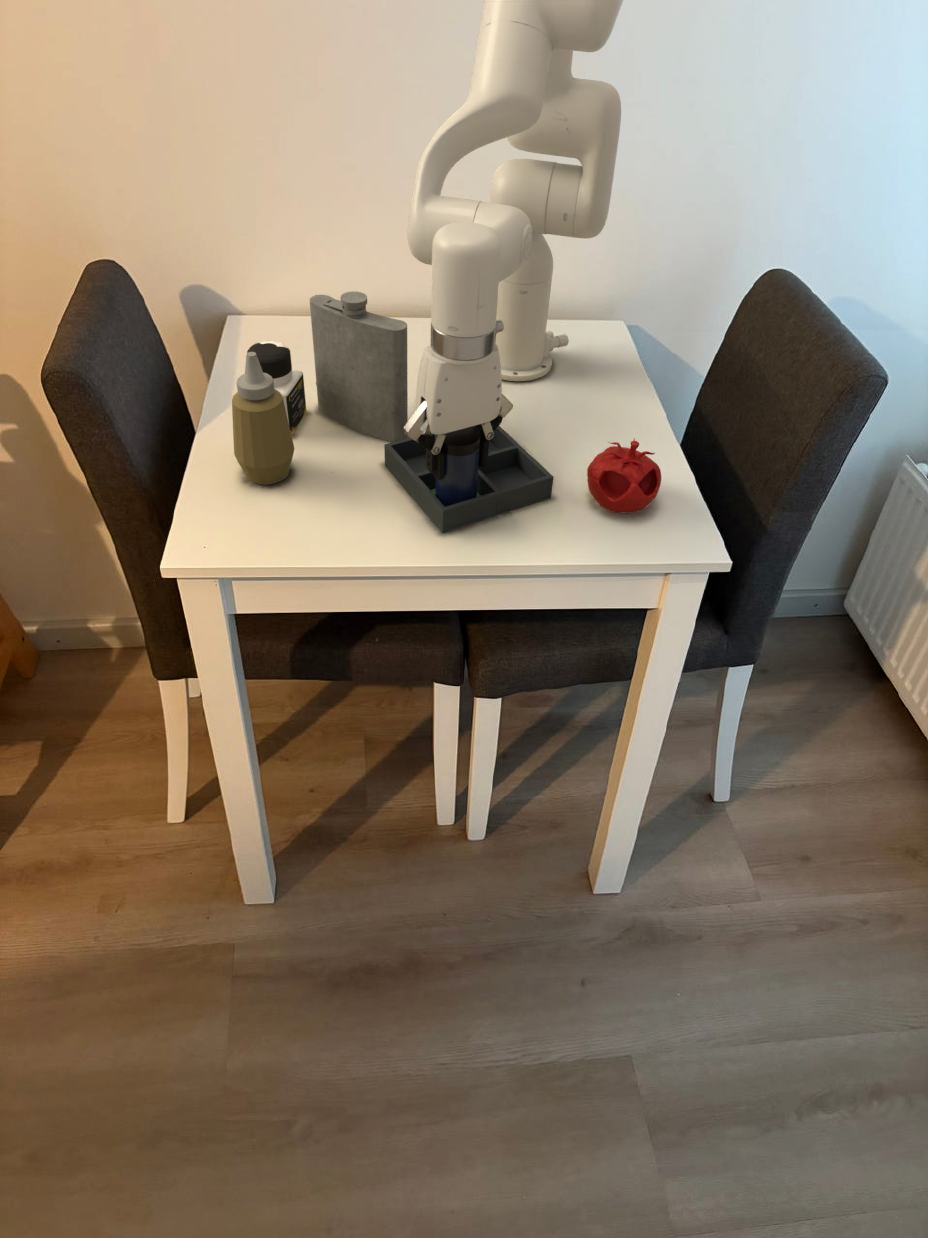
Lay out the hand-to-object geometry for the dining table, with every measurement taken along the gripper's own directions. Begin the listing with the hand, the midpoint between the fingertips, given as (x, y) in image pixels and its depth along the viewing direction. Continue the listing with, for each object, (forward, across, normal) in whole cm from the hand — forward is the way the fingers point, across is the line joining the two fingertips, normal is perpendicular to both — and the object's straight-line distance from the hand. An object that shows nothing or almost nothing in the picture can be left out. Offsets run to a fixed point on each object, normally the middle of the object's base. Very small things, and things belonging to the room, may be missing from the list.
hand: (456, 466), depth 116 cm
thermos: (+5, 0, 0) cm, 5 cm away
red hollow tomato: (+7, -21, +9) cm, 24 cm away
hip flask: (+6, +3, -24) cm, 25 cm away
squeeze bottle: (+7, +20, -18) cm, 28 cm away
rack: (+6, -4, -4) cm, 9 cm away
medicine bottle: (+7, +14, -30) cm, 34 cm away
